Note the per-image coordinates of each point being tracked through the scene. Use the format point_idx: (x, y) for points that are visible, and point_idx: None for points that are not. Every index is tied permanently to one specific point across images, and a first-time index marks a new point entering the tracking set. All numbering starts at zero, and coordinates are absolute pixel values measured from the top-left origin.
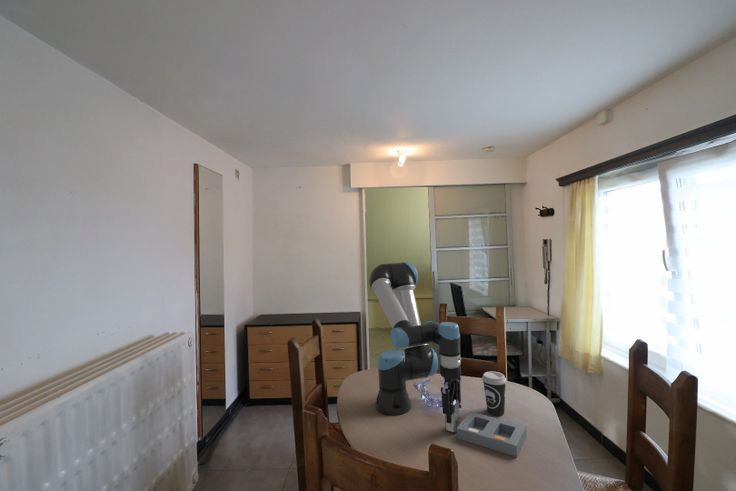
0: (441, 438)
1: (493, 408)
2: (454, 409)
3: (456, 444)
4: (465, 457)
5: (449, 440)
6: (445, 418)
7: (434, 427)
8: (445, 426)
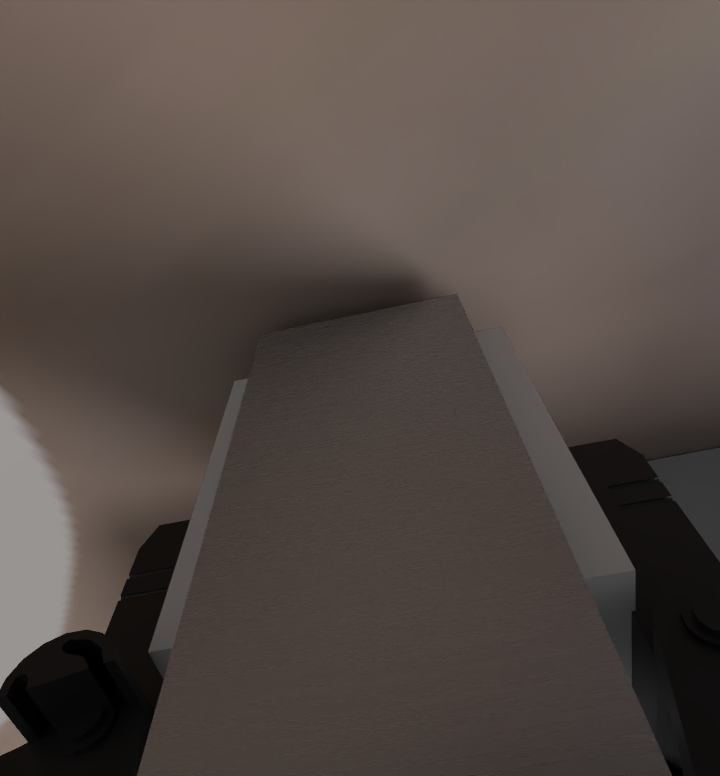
0: (42, 404)
1: None
2: None
3: (118, 594)
4: (24, 740)
5: (108, 501)
6: (233, 458)
7: (193, 93)
8: (256, 358)
